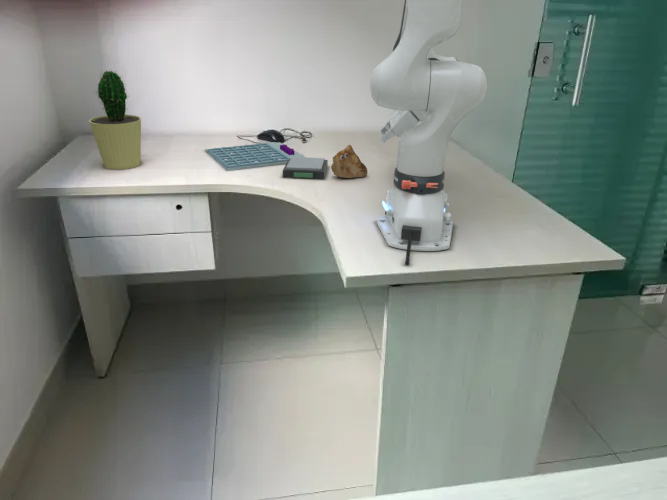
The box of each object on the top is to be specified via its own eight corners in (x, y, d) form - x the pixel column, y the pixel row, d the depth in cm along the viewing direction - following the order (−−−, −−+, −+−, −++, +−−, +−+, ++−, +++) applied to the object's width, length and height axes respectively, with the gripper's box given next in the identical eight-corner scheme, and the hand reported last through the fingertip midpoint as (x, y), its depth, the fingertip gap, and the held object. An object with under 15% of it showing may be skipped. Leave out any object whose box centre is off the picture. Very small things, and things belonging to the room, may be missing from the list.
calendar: (205, 150, 191) (204, 144, 190) (278, 143, 203) (278, 136, 202) (227, 171, 169) (226, 163, 168) (307, 161, 181) (307, 154, 180)
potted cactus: (94, 161, 175) (78, 66, 163) (142, 156, 182) (130, 65, 169) (99, 173, 163) (81, 72, 150) (150, 168, 170) (137, 71, 157)
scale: (324, 179, 163) (324, 169, 161) (282, 178, 163) (282, 168, 162) (327, 166, 176) (327, 157, 174) (289, 165, 176) (289, 155, 175)
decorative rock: (336, 182, 160) (337, 147, 156) (327, 176, 165) (328, 143, 161) (369, 177, 166) (371, 144, 161) (360, 172, 170) (361, 139, 166)
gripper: (407, 91, 163) (374, 121, 168) (412, 103, 144) (374, 136, 149) (420, 106, 165) (387, 136, 169) (426, 119, 146) (389, 152, 151)
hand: (381, 136), depth 159 cm, fingers open, 8 cm apart
